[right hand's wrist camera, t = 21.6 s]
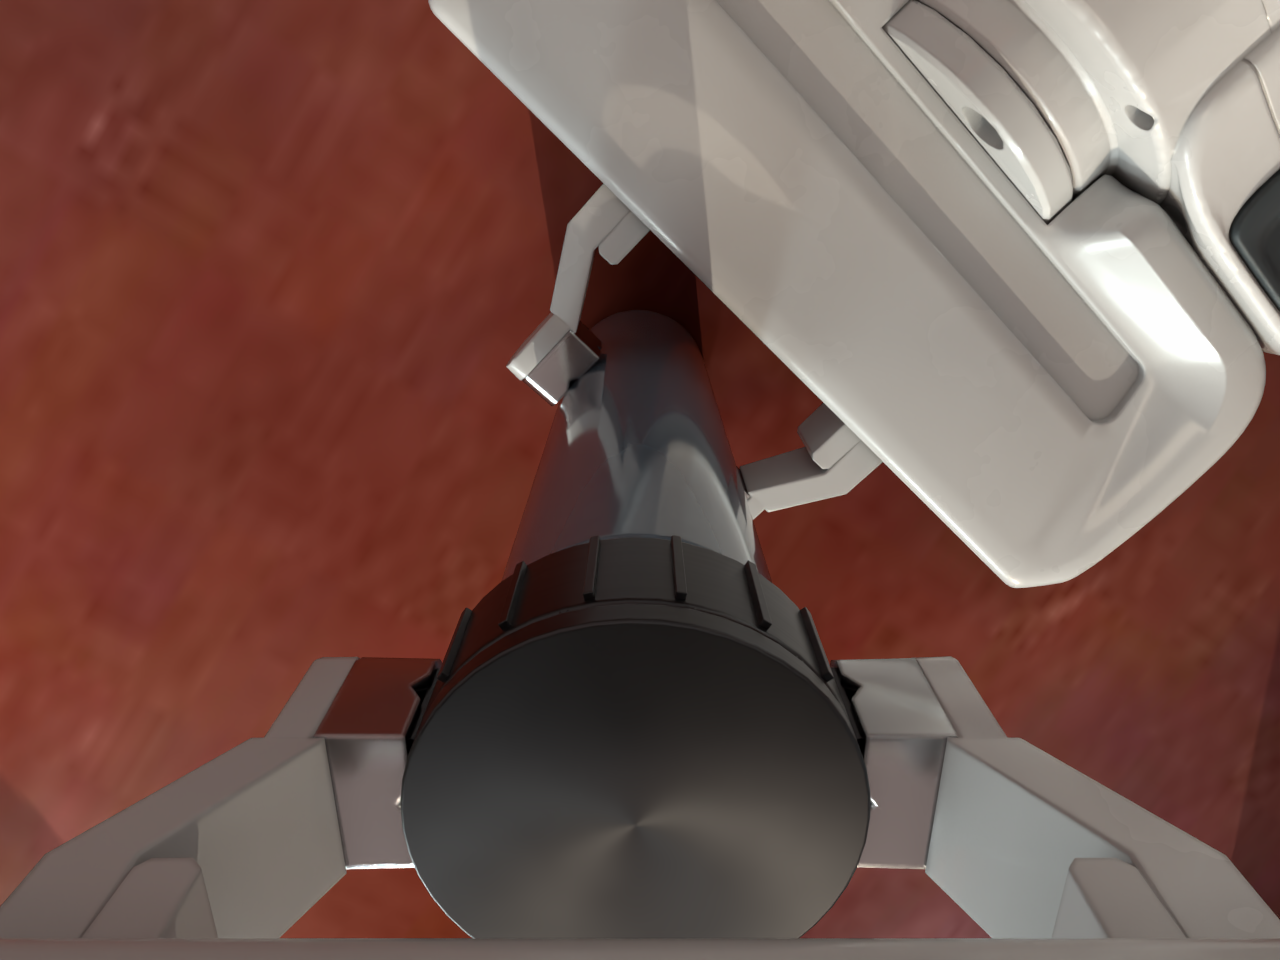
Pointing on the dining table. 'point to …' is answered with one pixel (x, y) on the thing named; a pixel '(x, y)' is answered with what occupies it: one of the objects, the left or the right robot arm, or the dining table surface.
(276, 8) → the dining table surface
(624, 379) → the grey cylindrical rod
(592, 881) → the lid
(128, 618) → the dining table surface
